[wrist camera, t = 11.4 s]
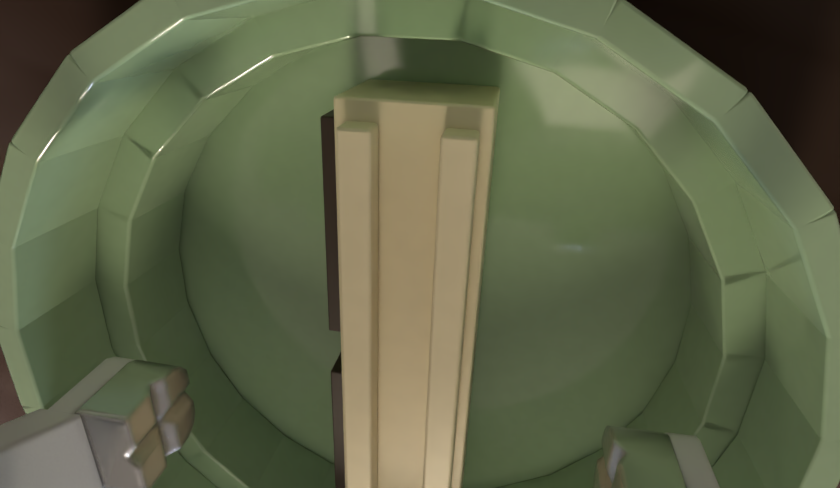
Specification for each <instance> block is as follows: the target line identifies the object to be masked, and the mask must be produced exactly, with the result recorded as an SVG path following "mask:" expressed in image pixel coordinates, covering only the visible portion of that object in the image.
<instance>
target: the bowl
mask: <svg viewBox="0 0 840 488" xmlns="http://www.w3.org/2000/svg"><path fill="white" fill-rule="evenodd" d="M369 79H377V80H394V81H411V82H428V83H445V84H462V85H479V86H496V87H499V88H500V94H499V105H498V115H497V126H496V137H495V147H494V158H493V169H492V179H491V190H490V201H489V211H488V222H487V232H486V243H485V254H484V264H483V275H482V286H481V296H480V307H479V318H478V328H477V339H476V350H475V360H474V371H473V381H472V392H471V403H470V413H469V424H468V435H467V445H466V456H465V467H464V477H463V486H462V488H593V485H594V473H595V468H596V463H597V460H598V459H599V458H600V457H602V456H603V449H602V443H601V440H602V436H603V432H604V430H605V428H606V426H607V425H609V426H617V427H625V428H632V429H640V430H648V431H655V432H663V433H666V432H667V433H675V434H683V435H692V436H696V437H697V438H698V439H699V440H700V441H701V443H702V446H703V448H704V451H705V453H706V455H707V458H708V460H709V463H710V465H711V467H712V470H713V472H714V475H715V477H716V480H717V482H718V484H719V487H720V488H837V486H838V484H839V482H840V225H839V221H838V217H837V214H836V212H835V211H834V210H833V209H834V207H833V204H832V203H831V202H830V200H829V199H828V197H827V196H826V195H825V193H824V192H823V190H822V189H821V188H820V186H819V185H818V183H817V182H816V181H815V179H814V178H813V176H812V175H811V174H810V172H809V171H808V169H807V168H806V167H805V165H804V164H803V163H802V161H801V160H800V158H799V157H798V156H797V154H796V153H795V151H794V150H793V149H792V147H791V146H790V144H789V143H788V142H787V140H786V139H785V137H784V136H783V135H782V133H781V132H780V130H779V129H778V128H777V126H776V125H775V123H774V122H773V121H772V119H771V118H770V117H769V115H768V114H767V112H766V111H765V110H764V108H763V107H762V105H761V104H760V103H759V101H758V100H757V98H756V97H755V96H754V94H753V93H751V92H749V91H748V90H747V88H746V87H745V86H744V85H743V84H741V83H740V82H739V81H737V80H736V79H734V78H733V77H732V76H730V75H729V74H728V73H726V72H725V71H723V70H722V69H721V68H719V67H718V66H716V65H715V64H714V63H712V62H711V61H710V60H708V59H707V58H705V57H704V56H703V55H701V54H700V53H699V52H697V51H696V50H694V49H693V48H692V47H690V46H689V45H688V44H686V43H685V42H683V41H682V40H681V39H679V38H678V37H676V36H675V35H674V34H672V33H671V32H670V31H668V30H667V29H665V28H664V27H663V26H661V25H660V24H659V23H657V22H656V21H654V20H653V19H652V18H650V17H649V16H647V15H646V14H645V13H643V12H642V11H641V10H639V9H638V8H636V7H635V6H634V5H632V4H631V3H630V2H628V1H627V0H139V1H138V2H137V3H135V4H134V5H133V6H131V7H130V8H129V9H127V10H126V11H124V12H123V13H122V14H120V15H119V16H118V17H116V18H115V19H114V20H112V21H111V22H110V23H108V24H107V25H105V26H104V27H103V28H101V29H100V30H99V31H97V32H96V33H95V34H93V35H92V36H90V37H89V38H88V39H86V40H85V41H84V42H82V43H81V44H80V45H78V46H77V47H76V48H74V49H73V50H72V51H71V52H70V54H69V55H67V56H66V57H65V59H64V60H63V62H62V63H61V65H60V66H59V68H58V69H57V71H56V72H55V74H54V75H53V77H52V78H51V80H50V82H49V83H48V85H47V86H46V88H45V89H44V91H43V92H42V94H41V95H40V97H39V98H38V100H37V101H36V103H35V104H34V106H33V107H32V109H31V110H30V112H29V113H28V115H27V116H26V118H25V120H24V121H23V123H22V124H21V126H20V127H19V129H18V130H17V132H16V133H15V135H14V136H13V138H12V139H11V142H10V143H9V144H8V149H7V153H6V157H5V161H4V165H3V169H2V173H1V177H0V346H1V349H2V352H3V355H4V358H5V360H6V363H7V366H8V369H9V372H10V375H11V378H12V381H13V384H14V387H15V390H16V392H17V395H18V398H19V401H20V404H21V405H22V406H23V410H24V412H25V413H26V414H28V413H31V412H33V411H36V410H38V409H46V410H48V409H49V408H50V407H51V406H52V405H54V404H55V403H56V402H57V401H58V400H59V399H60V398H62V397H63V396H64V395H65V394H66V393H67V392H68V391H70V390H71V389H72V388H73V387H74V386H75V385H76V384H78V383H79V382H80V381H81V380H82V379H83V378H85V377H86V376H87V375H88V374H89V373H90V372H91V371H93V370H94V369H95V368H96V367H97V366H98V365H99V364H101V363H102V362H103V361H104V360H105V359H107V358H111V357H114V356H116V357H121V358H127V359H133V360H143V361H149V362H155V363H161V364H167V365H173V366H180V367H182V368H184V369H186V370H187V373H188V377H189V381H190V384H189V385H188V387H187V388H186V390H185V392H186V393H187V394H188V395H189V396H190V397H191V399H192V400H193V401H194V406H195V421H194V425H193V427H192V430H191V433H190V436H189V437H188V439H187V440H186V442H185V443H184V445H183V446H182V447H181V449H179V450H177V451H175V452H173V453H172V454H170V455H168V456H167V467H166V469H165V470H164V471H163V473H162V474H161V475H160V477H159V478H158V479H157V481H156V482H155V483H154V485H153V486H152V487H151V488H335V465H334V441H333V416H332V391H331V370H332V368H333V366H334V364H335V362H336V360H337V358H338V356H339V354H340V352H341V332H338V331H330V330H329V317H328V293H327V268H326V243H325V219H324V194H323V169H322V145H321V120H320V118H321V116H322V115H324V114H326V113H328V112H330V111H331V110H333V109H334V96H336V95H338V94H340V93H342V92H344V91H347V90H349V89H351V88H353V87H355V86H357V85H359V84H361V83H363V82H365V81H367V80H369Z"/></svg>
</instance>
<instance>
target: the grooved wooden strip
mask: <svg viewBox="0 0 840 488" xmlns="http://www.w3.org/2000/svg"><path fill="white" fill-rule="evenodd" d="M499 94H500V88H499V87H496V86H479V85H462V84H445V83H428V82H411V81H394V80H377V79H369V80H367V81H365V82H363V83H361V84H359V85H357V86H355V87H353V88H351V89H349V90H347V91H344V92H342V93H340V94H338V95H336V96H334V109H333V110H331V111H330V112H328V113H326V114H324V115H322V116H321V118H320V120H321V145H322V169H323V194H324V219H325V243H326V268H327V293H328V317H329V330H330V331H338V332H341V352H340V354H339V356H338V358H337V360H336V362H335V364H334V366H333V368H332V370H331V391H332V416H333V441H334V465H335V488H462V486H463V477H464V467H465V456H466V445H467V435H468V424H469V413H470V403H471V392H472V381H473V371H474V360H475V350H476V339H477V328H478V318H479V307H480V296H481V286H482V275H483V264H484V254H485V243H486V232H487V222H488V211H489V201H490V190H491V179H492V169H493V158H494V147H495V137H496V126H497V115H498V105H499Z"/></svg>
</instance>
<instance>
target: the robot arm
mask: <svg viewBox="0 0 840 488" xmlns="http://www.w3.org/2000/svg"><path fill="white" fill-rule="evenodd" d="M189 384H190V381H189V377H188V373H187V370H186V369H184V368H182V367H180V366H173V365H167V364H161V363H155V362H149V361H143V360H133V359H127V358H121V357H116V356H114V357H111V358H107V359H105V360H104V361H103V362H102V363H101V364H99V365H98V366H97V367H96V368H95V369H94V370H93V371H91V372H90V373H89V374H88V375H87V376H86V377H85V378H83V379H82V380H81V381H80V382H79V383H78V384H76V385H75V386H74V387H73V388H72V389H71V390H70V391H68V392H67V393H66V394H65V395H64V396H63V397H62V398H60V399H59V400H58V401H57V402H56V403H55V404H54V405H52V406H51V407H50V408H49V409H48V410H46V409H38V410H36V411H33V412H31V413H28V414H26V415H24V416H21V417H19V418H16V419H14V420H11V421H9V422H6V423H4V424H1V425H0V488H151V487H152V486H153V485H154V483H155V482H156V481H157V479H158V478H159V477H160V475H161V474H162V473H163V471H164V470H165V469H166V467H167V456H168V455H170V454H172V453H173V452H175V451H177V450H179V449H181V447H182V446H183V445H184V443H185V442H186V440H187V439H188V437H189V436H190V433H191V430H192V427H193V425H194V421H195V406H194V401H193V400H192V399H191V397H190V396H189V395H188V394H187V393H186V392H185V390H186V388H187V387H188V385H189ZM601 443H602V449H603V456H602V457H600V458H599V459H598V460H597V463H596V468H595V473H594V485H593V488H720V487H719V484H718V482H717V480H716V477H715V475H714V472H713V470H712V467H711V465H710V463H709V460H708V458H707V455H706V453H705V451H704V448H703V446H702V443H701V441H700V440H699V439H698V438H697V437H696V436H692V435H683V434H675V433H667V432H666V433H663V432H655V431H648V430H640V429H632V428H625V427H617V426H609V425H607V426H606V428H605V430H604V432H603V436H602V440H601Z"/></svg>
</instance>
